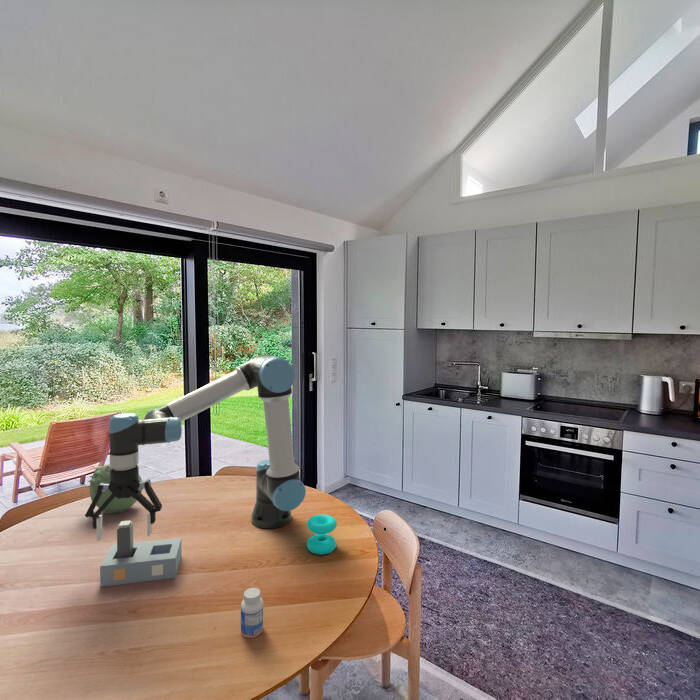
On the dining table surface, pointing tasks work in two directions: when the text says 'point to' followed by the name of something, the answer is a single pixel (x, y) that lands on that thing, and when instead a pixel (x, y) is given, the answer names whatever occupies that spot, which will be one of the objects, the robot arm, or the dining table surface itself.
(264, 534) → the dining table surface
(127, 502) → the cabbage
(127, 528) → the plug
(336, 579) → the dining table surface
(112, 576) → the socket block
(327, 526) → the turquoise spool
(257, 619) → the pill bottle
